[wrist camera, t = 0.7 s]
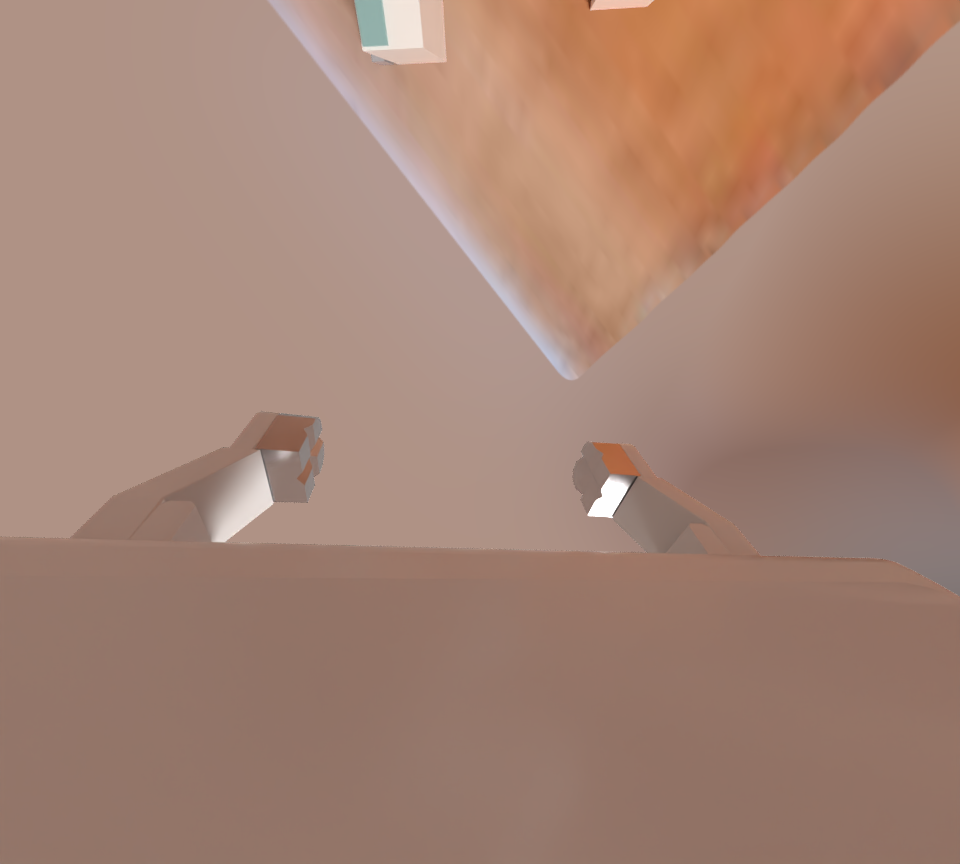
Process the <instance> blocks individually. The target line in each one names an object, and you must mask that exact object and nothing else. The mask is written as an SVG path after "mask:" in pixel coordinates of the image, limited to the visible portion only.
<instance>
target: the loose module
mask: <svg viewBox="0 0 960 864" xmlns="http://www.w3.org/2000/svg"><path fill="white" fill-rule="evenodd" d="M653 1H654V0H591V5H590V10H602V9H618V8H634V7H647V6H648V5H649V4H651V3H652V2H653Z"/></svg>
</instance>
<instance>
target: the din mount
mask: <svg viewBox="0 0 960 864" xmlns="http://www.w3.org/2000/svg"><path fill="white" fill-rule="evenodd" d="M354 4H355V9H356V15H357V21H358V27H359V32H360V38H361V44H362V50H363V51H364V52H367V53H369V54H371V58H372V62H374V63H377V64H380V65H394V64H393V63H396V64H416V63H436V62H447V60H446V44H445V28H444V12H443V0H354Z"/></svg>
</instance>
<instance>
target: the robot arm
mask: <svg viewBox="0 0 960 864" xmlns="http://www.w3.org/2000/svg"><path fill="white" fill-rule="evenodd" d="M321 431H322V426H321V420H320V419H319V417H311V416H301V415H292V414H283V413H281V414H280V413H272V412H259V413H256V415H255V416H254V417H253V418H252V420H251V421H250V422H249V424H248V425H247V426H246V428H245V429H244V430H243V431H242V433H241V434H240V435H239V436H238V438H237V439H236V440H235V441H234V443H233V444H232V445H231V447H230V448H229V447H228V448H227V447H223V448H220V449H218V450H216V451H214V452H211V453H209V454H207V455H205V456H202V457H200V458H198V459H196V460H193V461H191V462H189V463H187V464H184V465H182V466H180V467H178V468H175V469H173V470H171V471H169V472H166V473H164V474H162V475H160V476H158V477H155V478H153V479H151V480H148V481H146V482H144V483H141V484H139V485H137V486H135V487H132V488H130V489H128V490H126V491H123V492H121V493H119V494H117V495H114V496H113V497H112V498H110V500H108V502H106V503H105V505H103V506H102V507H101V508H100V509H99V510H98V511H97V512H96V513H95V514H94V515H93V516H92V517H91V518H90V519H89V520H88V521H87V522H86V523H85V524H84V525H83V526H82V527H81V528H80V529H79V530H78V531H77V532H76V533H75V534H74V535H73V536H71V537H70V538H33V537H0V864H960V596H958V595H956V594H955V593H953V592H951V591H949V590H948V589H946V588H944V587H943V586H941V585H939V584H937V583H935V582H933V581H932V580H930V579H928V578H926V577H924V576H922V575H921V574H919V573H917V572H915V571H913V570H911V569H909V568H907V567H905V566H903V565H901V564H898V563H896V562H893V561H890V560H886V559H878V558H843V557H841V558H839V557H801V556H799V557H798V556H761V555H759V553H758V552H757V551H756V550H755V548H754V547H753V546H752V545H751V544H750V542H749V541H748V540H747V539H746V538H745V537H744V535H743V534H742V533H741V532H740V531H739V529H738V528H737V527H736V526H735V525H734V524H733V523H731V522H730V521H728V520H727V519H725V518H723V517H722V516H720V515H719V514H717V513H716V512H714V511H712V510H711V509H709V508H708V507H706V506H704V505H703V504H702V503H700V502H698V501H697V500H695V499H694V498H692V497H690V496H689V495H687V494H686V493H684V492H683V491H681V490H680V489H678V488H676V487H675V486H673V485H672V484H670V483H669V482H667V481H665V480H664V479H662V478H657V477H656V475H655V474H654V473H653V471H652V470H651V469H650V467H649V466H648V464H647V463H646V462H645V460H644V459H643V458H642V456H641V455H640V453H639V452H638V451H637V449H636V448H635V447H634V446H633V445H631V444H618V443H617V444H611V443H600V442H587V443H586V444H585V445H584V446H583V449H582V451H581V452H582V455H583V457H582V458H581V459H579V460H578V461H577V462H576V464H575V466H574V469H573V482H574V485H575V488H576V489H577V490H578V491H579V492H580V493H582V494H583V495H582V497H581V501H582V503H583V506H584V508H585V510H586V512H587V515H590V516H603V517H612V519H613V520H614V521H615V522H616V523H617V524H618V525H619V526H620V527H621V528H622V529H623V530H624V531H625V532H626V533H627V534H628V535H629V536H630V537H631V538H632V539H634V541H636V542H637V543H638V544H639V545H640V546H641V547H642V548H643V549H644V550H645V551H646V552H647V553H636V552H597V551H596V552H594V551H558V550H557V551H556V550H519V549H478V548H437V547H397V546H356V545H315V544H275V543H274V544H273V543H234V542H232V543H231V542H225V541H227V540H228V539H229V538H230V537H232V536H233V535H234V534H236V533H237V532H238V531H239V530H241V529H242V528H243V527H244V526H246V525H247V524H248V523H250V521H252V520H253V519H255V518H256V517H257V516H258V515H260V514H261V513H262V512H263V511H265V510H266V509H267V508H268V507H270V506H271V505H272V504H273V502H306V503H308V500H309V498H310V495H311V493H312V490H313V488H314V486H315V483H314V477H315V476H316V475H318V474H319V473H320V471H321V468H322V464H323V459H324V442H323V441H322V440H321V439H320V438H319V435H320V433H321Z"/></svg>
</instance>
